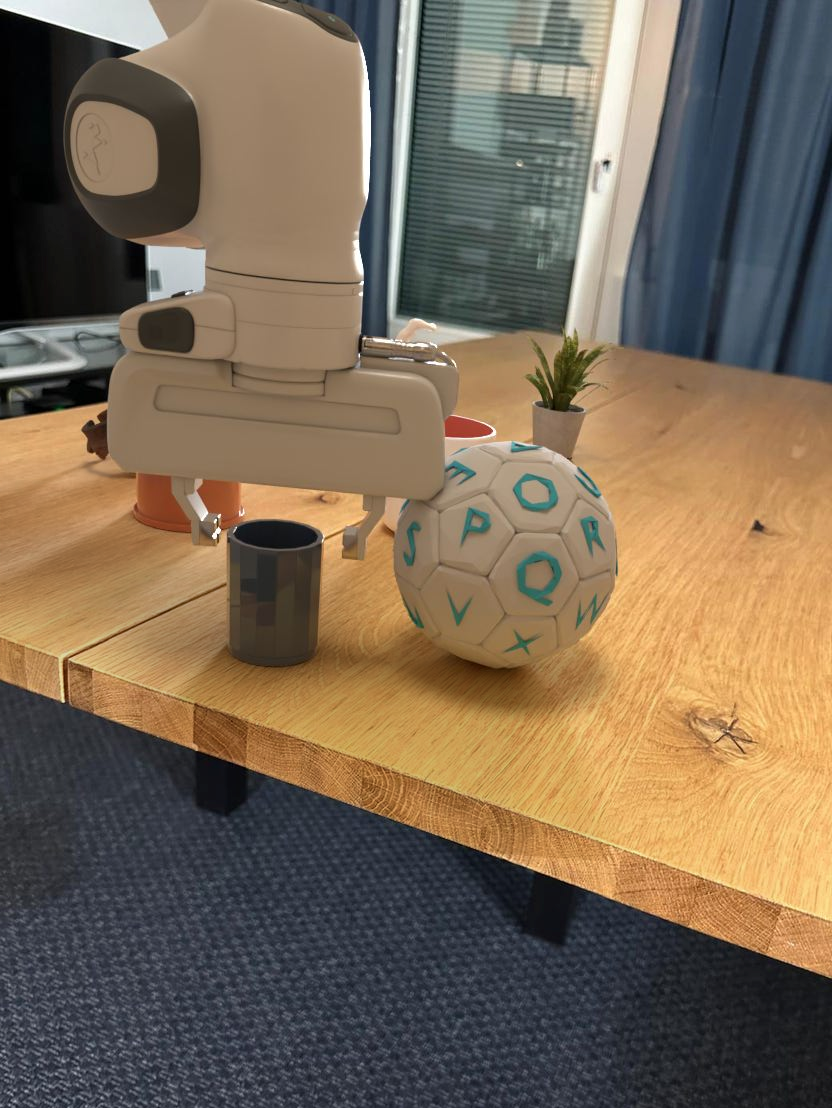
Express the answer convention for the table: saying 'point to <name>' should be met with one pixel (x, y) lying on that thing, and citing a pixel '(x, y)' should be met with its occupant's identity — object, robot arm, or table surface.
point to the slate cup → (274, 591)
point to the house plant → (562, 395)
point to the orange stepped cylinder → (167, 514)
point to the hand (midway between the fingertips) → (280, 550)
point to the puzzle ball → (507, 555)
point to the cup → (447, 454)
